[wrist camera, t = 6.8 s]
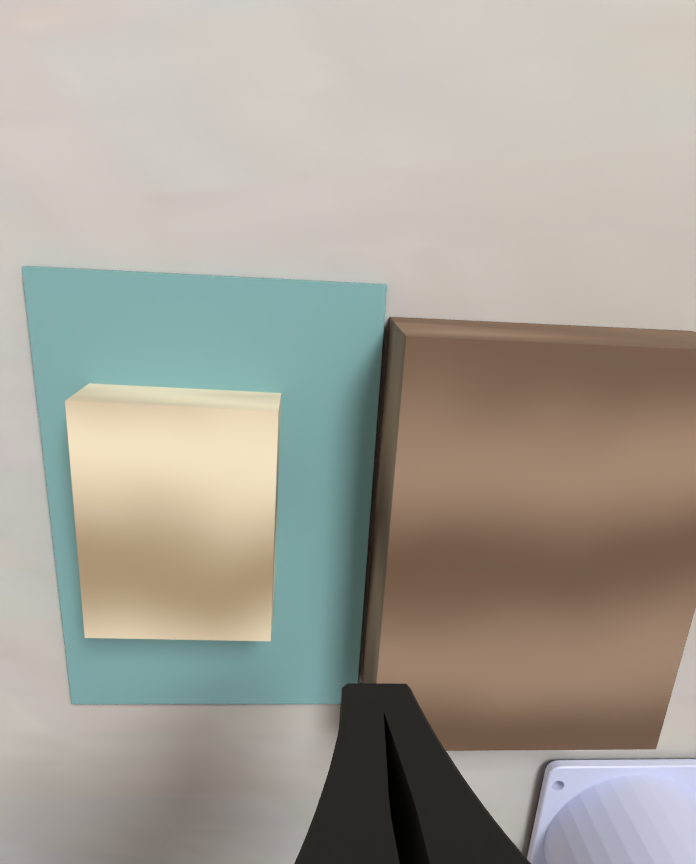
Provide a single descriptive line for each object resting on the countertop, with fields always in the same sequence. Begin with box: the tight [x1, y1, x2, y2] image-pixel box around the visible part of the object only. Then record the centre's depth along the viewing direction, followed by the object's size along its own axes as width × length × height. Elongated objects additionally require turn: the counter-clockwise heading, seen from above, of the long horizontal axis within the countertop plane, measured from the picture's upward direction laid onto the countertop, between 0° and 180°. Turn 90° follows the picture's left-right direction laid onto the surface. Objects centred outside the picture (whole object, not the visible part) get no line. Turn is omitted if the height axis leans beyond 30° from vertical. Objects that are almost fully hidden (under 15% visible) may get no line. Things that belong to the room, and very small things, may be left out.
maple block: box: [65, 383, 281, 641], centre depth 20 cm, size 8×6×2 cm
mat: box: [22, 266, 387, 704], centre depth 21 cm, size 16×11×1 cm
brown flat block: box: [362, 317, 696, 751], centre depth 20 cm, size 14×10×4 cm
